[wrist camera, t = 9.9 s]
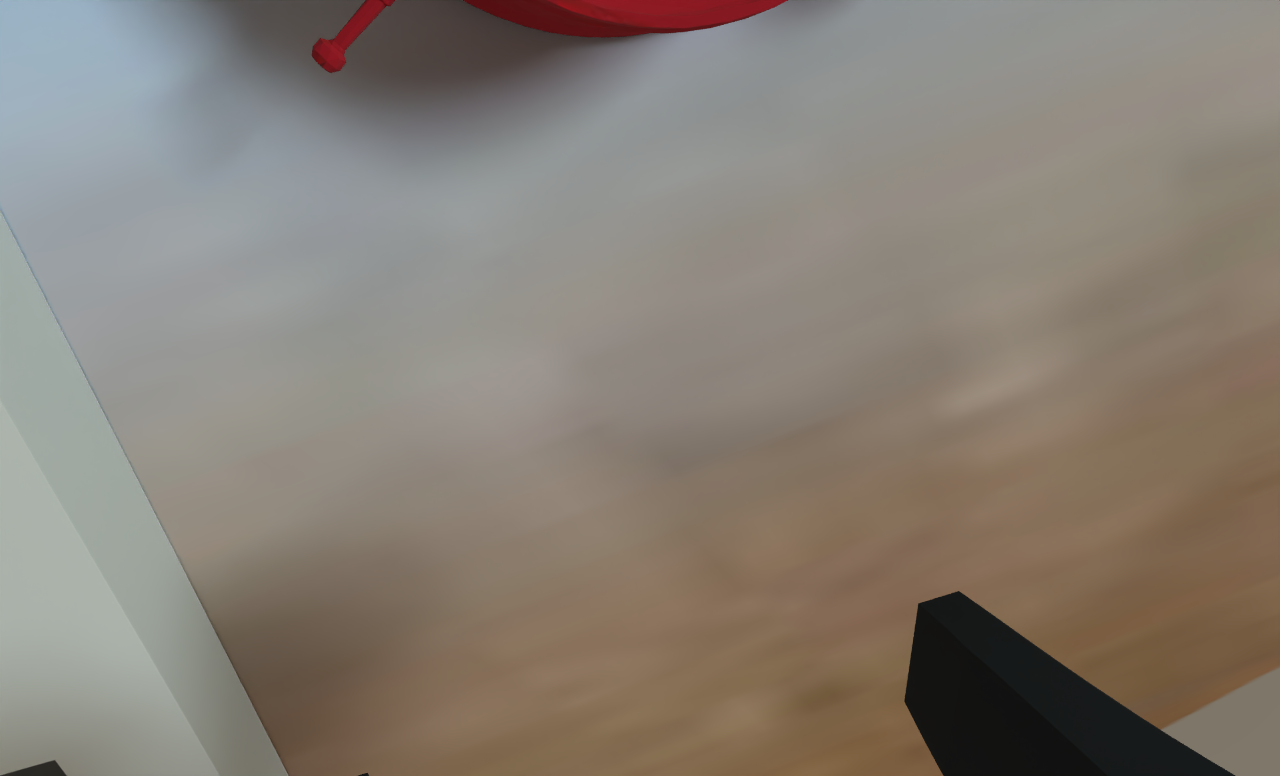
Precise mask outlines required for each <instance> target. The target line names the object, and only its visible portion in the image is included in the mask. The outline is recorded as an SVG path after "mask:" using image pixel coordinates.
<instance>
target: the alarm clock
mask: <svg viewBox="0 0 1280 776" xmlns="http://www.w3.org/2000/svg"><path fill="white" fill-rule="evenodd" d="M394 1H395V0H366V1H365V2H364V3H363V4H362V6H361V7H360V8H359V9H358V10H357V12H356V13H355V14H354V15H353V17H352V18H351V19H350V20H349V21H348V23H347V24H346V25H345V26H344V27H343V29H342V30H341V31H340V32H339V33H338V35H337V36H336V37H335V38H334V39H331V40H326V39H322V38H320V39H319V40H318V41H317V42H316V44H315V45H314V46H313V50H312V57H313V58H314V60H315V61H316V62H317V63H318V64H319V65H320V66H321V67H323V68H324V69H325V70H326V71H328V72H330V73H332V72H337V71H340V70H341V69H342V67H343V66H344V65H345V63H346V60H345V57H344V54H345V50H346V49H347V48H348V47H349V46H350V45H351V44H352V43H353V41H354V40H355V39H356V38H357V37H358V36H359V35H360V34H361V33H362V32H363V31H364V30H365V29H366V27H367V26H368V25H369V24H370V23H371V22H372V21H373V20H374V19H375V18H376V17H377V16H378V15H379V13H380V12H381V11H382V10H383V9H384V8H385V7H386V6H391V5H392V4H393V3H394ZM463 1H465V2H467V3H469V4H471V5H473V6H474V7H477V8H479V9H481V10H483V11H485V12H488V13H490V14H492V15H494V16H497V17H500V18H503V19H505V20H508V21H511V22H514V23H517V24H520V25H523V26H526V27H530V28H534V29H538V30H542V31H547V32H551V33H557V34H564V35H571V36H581V37H624V36H632V35H639V34H646V33H676V32H687V31H694V30H700V29H707V28H713V27H716V26H720V25H724V24H728V23H731V22H735V21H739V20H742V19H746V18H749V17H751V16H754V15H756V14H759V13H761V12H764V11H766V10H769V9H771V8H774V7H776V6H778V5H780V4H781V3H783V2H785V1H788V0H463Z"/></svg>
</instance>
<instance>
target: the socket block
mask: <svg viewBox="0 0 1280 776" xmlns="http://www.w3.org/2000/svg"><path fill="white" fill-rule="evenodd" d="M0 776H288V774H287V772H286V770H285V768H284V766H283V764H282V762H281V760H280V758H279V756H278V754H277V752H276V750H275V748H274V746H273V744H272V742H271V740H270V738H269V737H268V735H267V733H266V731H265V729H264V727H263V725H262V723H261V721H260V719H259V717H258V715H257V713H256V711H255V709H254V707H253V705H252V703H251V701H250V699H249V697H248V695H247V693H246V691H245V689H244V688H243V686H242V684H241V682H240V680H239V678H238V676H237V674H236V672H235V670H234V668H233V666H232V664H231V662H230V660H229V658H228V656H227V654H226V652H225V650H224V648H223V646H222V644H221V642H220V640H219V638H218V637H217V635H216V633H215V631H214V629H213V627H212V625H211V623H210V621H209V619H208V617H207V615H206V613H205V611H204V609H203V607H202V605H201V603H200V601H199V599H198V597H197V595H196V593H195V591H194V589H193V587H192V586H191V584H190V582H189V580H188V578H187V576H186V574H185V572H184V570H183V568H182V566H181V564H180V562H179V560H178V558H177V556H176V554H175V552H174V550H173V548H172V546H171V544H170V542H169V540H168V538H167V537H166V535H165V533H164V531H163V529H162V527H161V525H160V523H159V521H158V519H157V517H156V515H155V513H154V511H153V509H152V507H151V505H150V503H149V501H148V499H147V497H146V495H145V493H144V491H143V489H142V487H141V486H140V484H139V482H138V480H137V478H136V476H135V474H134V472H133V470H132V468H131V466H130V464H129V462H128V460H127V458H126V456H125V454H124V452H123V450H122V448H121V446H120V444H119V442H118V440H117V438H116V437H115V435H114V433H113V431H112V429H111V427H110V425H109V423H108V421H107V419H106V417H105V415H104V413H103V411H102V409H101V407H100V405H99V403H98V401H97V399H96V397H95V395H94V393H93V391H92V389H91V387H90V386H89V384H88V382H87V380H86V378H85V376H84V374H83V372H82V370H81V368H80V366H79V364H78V362H77V360H76V358H75V356H74V354H73V352H72V350H71V348H70V346H69V344H68V342H67V340H66V338H65V336H64V335H63V333H62V331H61V329H60V327H59V325H58V323H57V321H56V319H55V317H54V315H53V313H52V311H51V309H50V307H49V305H48V303H47V301H46V299H45V297H44V295H43V293H42V291H41V289H40V287H39V286H38V284H37V282H36V280H35V278H34V276H33V274H32V272H31V270H30V268H29V266H28V264H27V262H26V260H25V258H24V256H23V254H22V252H21V250H20V248H19V246H18V244H17V242H16V240H15V238H14V236H13V235H12V233H11V231H10V229H9V227H8V225H7V223H6V221H5V219H4V217H3V215H2V213H1V211H0Z"/></svg>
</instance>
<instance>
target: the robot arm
mask: <svg viewBox="0 0 1280 776" xmlns="http://www.w3.org/2000/svg"><path fill="white" fill-rule="evenodd" d="M905 703H906V705H907V707H908V709H909V711H910V713H911V715H912V717H913V719H914V721H915V723H916V725H917V727H918V729H919V731H920V733H921V735H922V737H923V739H924V741H925V743H926V744H927V746H928V748H929V750H930V752H931V754H932V756H933V757H934V759H935V761H936V763H937V765H938V767H939V768H940V770H941V772H942V774H943V775H944V776H1235V775H1233V774H1232V773H1230V772H1228V771H1227V770H1225V769H1223V768H1222V767H1220V766H1218V765H1217V764H1215V763H1213V762H1211V761H1210V760H1208V759H1207V758H1205V757H1203V756H1202V755H1200V754H1198V753H1197V752H1195V751H1194V750H1192V749H1190V748H1189V747H1187V746H1185V745H1184V744H1182V743H1180V742H1179V741H1177V740H1176V739H1174V738H1172V737H1171V736H1169V735H1168V734H1166V733H1164V732H1163V731H1161V730H1160V729H1158V728H1157V727H1155V726H1154V725H1152V724H1150V723H1149V722H1147V721H1146V720H1144V719H1143V718H1141V717H1140V716H1138V715H1137V714H1135V713H1134V712H1132V711H1131V710H1129V709H1128V708H1126V707H1125V706H1123V705H1122V704H1120V703H1119V702H1117V701H1116V700H1114V699H1113V698H1111V697H1110V696H1108V695H1107V694H1105V693H1104V692H1102V691H1101V690H1099V689H1098V688H1096V687H1095V686H1093V685H1092V684H1090V683H1089V682H1087V681H1086V680H1084V679H1083V678H1081V677H1080V676H1078V675H1077V674H1076V673H1074V672H1073V671H1071V670H1070V669H1068V668H1067V667H1065V666H1064V665H1063V664H1061V663H1060V662H1058V661H1057V660H1055V659H1054V658H1053V657H1051V656H1050V655H1048V654H1047V653H1045V652H1044V651H1043V650H1041V649H1040V648H1038V647H1037V646H1036V645H1034V644H1033V643H1031V642H1030V641H1029V640H1027V639H1026V638H1024V637H1023V636H1021V635H1020V634H1019V633H1017V632H1016V631H1014V630H1013V629H1012V628H1010V627H1009V626H1007V625H1006V624H1005V623H1003V622H1002V621H1001V620H999V619H998V618H996V617H995V616H993V615H992V614H991V613H989V612H988V611H986V610H985V609H984V608H982V607H981V606H979V605H978V604H977V603H975V602H974V601H972V600H971V599H969V598H968V597H967V596H965V595H964V594H962V593H961V592H959V591H958V592H955V593H951V594H948V595H945V596H942V597H938V598H935V599H932V600H929V601H925V602H922V603H919V604H918V610H917V617H916V624H915V631H914V638H913V645H912V652H911V659H910V666H909V673H908V680H907V687H906V694H905ZM359 776H369V775H368V773H365V774H362V775H359Z"/></svg>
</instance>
